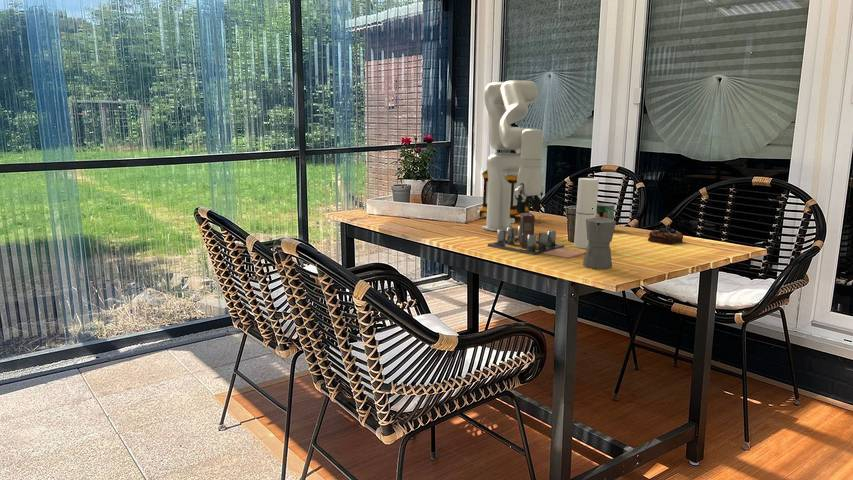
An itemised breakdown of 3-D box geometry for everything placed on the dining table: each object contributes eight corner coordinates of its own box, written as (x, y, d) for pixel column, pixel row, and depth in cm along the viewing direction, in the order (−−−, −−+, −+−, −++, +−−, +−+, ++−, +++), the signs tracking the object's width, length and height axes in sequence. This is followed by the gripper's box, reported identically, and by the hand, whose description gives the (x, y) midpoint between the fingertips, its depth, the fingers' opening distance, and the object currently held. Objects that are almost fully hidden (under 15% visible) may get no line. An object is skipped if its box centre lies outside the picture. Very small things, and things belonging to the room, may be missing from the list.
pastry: (644, 241, 257) (645, 226, 256) (659, 238, 265) (660, 223, 264) (671, 246, 250) (672, 230, 248) (685, 242, 258) (687, 227, 256)
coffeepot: (610, 272, 203) (614, 215, 200) (579, 269, 207) (583, 212, 203) (615, 262, 217) (619, 208, 214) (586, 259, 221) (590, 206, 217)
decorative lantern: (514, 223, 291) (517, 155, 286) (475, 218, 302) (477, 152, 296) (532, 217, 308) (536, 153, 302) (495, 213, 318) (498, 151, 313)
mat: (560, 249, 237) (561, 247, 237) (585, 253, 230) (585, 252, 230) (542, 253, 228) (542, 252, 228) (568, 258, 221) (568, 257, 221)
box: (518, 245, 242) (520, 212, 240) (530, 245, 243) (532, 213, 240) (521, 248, 236) (523, 215, 234) (533, 248, 237) (535, 215, 234)
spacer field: (518, 239, 253) (519, 223, 252) (564, 247, 240) (565, 231, 239) (487, 246, 239) (488, 229, 238) (534, 254, 226) (535, 237, 225)
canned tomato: (614, 229, 282) (616, 204, 280) (610, 232, 275) (612, 206, 273) (595, 227, 286) (597, 202, 284) (591, 230, 279) (593, 204, 277)
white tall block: (569, 245, 245) (574, 178, 240) (585, 244, 247) (590, 177, 243) (581, 249, 238) (586, 180, 233) (597, 247, 241) (602, 179, 236)
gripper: (535, 163, 242) (533, 209, 245) (508, 164, 230) (506, 212, 233) (552, 164, 237) (550, 211, 240) (526, 165, 225) (523, 214, 228)
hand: (528, 211), depth 236 cm, fingers open, 9 cm apart
